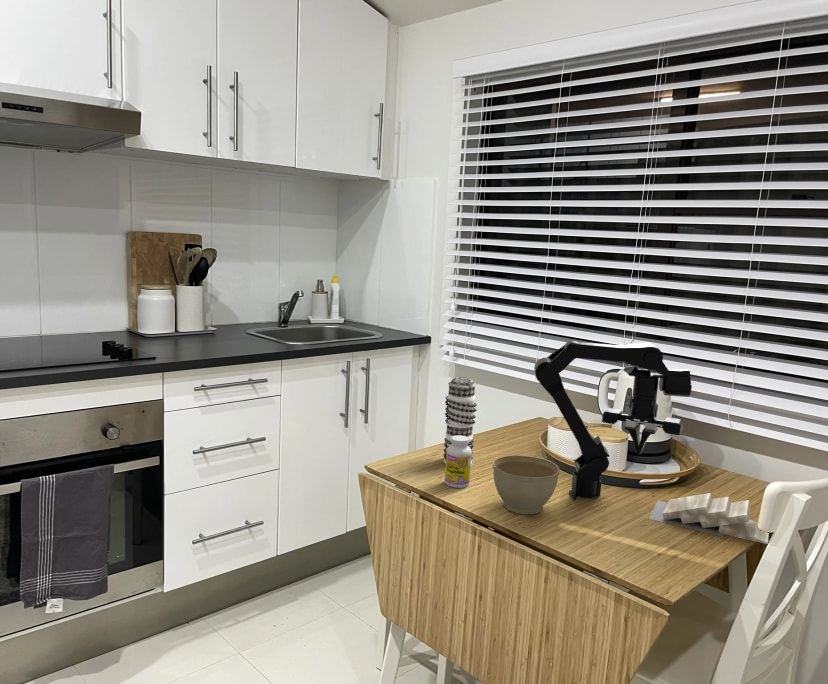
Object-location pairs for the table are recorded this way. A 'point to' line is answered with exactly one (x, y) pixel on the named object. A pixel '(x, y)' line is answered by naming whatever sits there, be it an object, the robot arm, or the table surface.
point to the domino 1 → (687, 506)
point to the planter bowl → (525, 482)
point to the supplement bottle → (458, 462)
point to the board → (658, 516)
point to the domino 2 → (711, 511)
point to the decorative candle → (460, 411)
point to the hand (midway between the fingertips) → (638, 453)
